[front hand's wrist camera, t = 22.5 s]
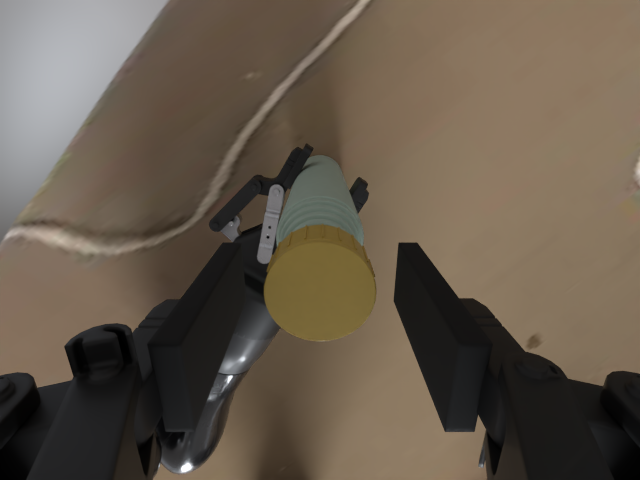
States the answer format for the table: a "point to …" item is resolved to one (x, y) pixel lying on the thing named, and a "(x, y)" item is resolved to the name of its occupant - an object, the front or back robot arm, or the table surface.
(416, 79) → the table surface
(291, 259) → the cap
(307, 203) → the bottle
